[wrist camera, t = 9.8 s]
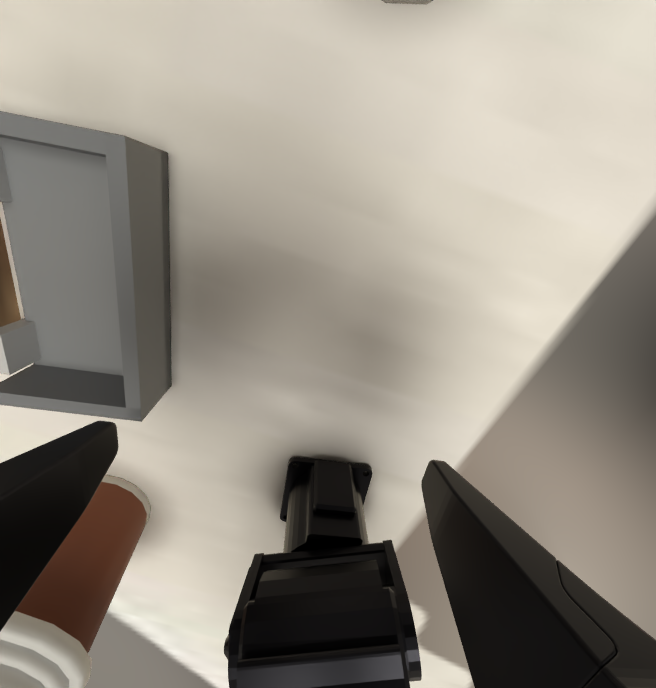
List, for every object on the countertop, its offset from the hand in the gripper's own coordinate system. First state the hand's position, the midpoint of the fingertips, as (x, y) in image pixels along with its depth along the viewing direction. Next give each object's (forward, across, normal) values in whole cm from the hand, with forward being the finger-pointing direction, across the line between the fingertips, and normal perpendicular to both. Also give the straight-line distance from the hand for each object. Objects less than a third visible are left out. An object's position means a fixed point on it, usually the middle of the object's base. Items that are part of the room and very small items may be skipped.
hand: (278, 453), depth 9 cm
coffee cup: (+12, +13, +18) cm, 25 cm away
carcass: (+12, +14, -1) cm, 19 cm away
